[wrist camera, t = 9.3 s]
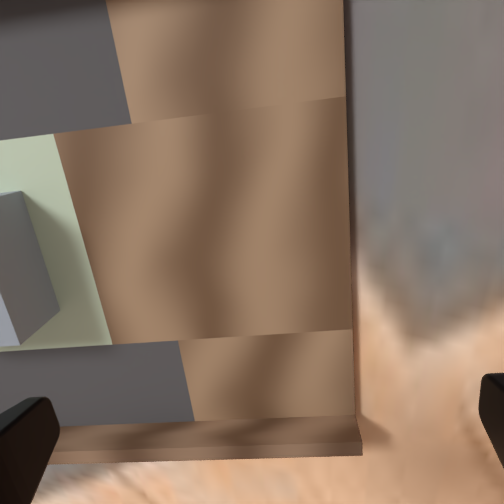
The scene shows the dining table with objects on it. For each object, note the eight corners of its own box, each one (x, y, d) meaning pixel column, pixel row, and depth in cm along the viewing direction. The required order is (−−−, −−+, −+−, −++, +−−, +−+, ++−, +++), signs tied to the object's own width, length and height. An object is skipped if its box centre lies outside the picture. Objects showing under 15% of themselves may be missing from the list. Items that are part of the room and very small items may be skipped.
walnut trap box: (338, -94, 14) (349, -135, 12) (353, 421, 23) (362, 455, 21) (-224, 8, 17) (-303, -10, 15) (-23, 435, 26) (-54, 467, 23)
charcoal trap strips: (105, -22, 16) (99, -27, 15) (196, 415, 24) (195, 421, 23) (-194, 29, 17) (-207, 27, 17) (-15, 424, 25) (-21, 429, 25)
